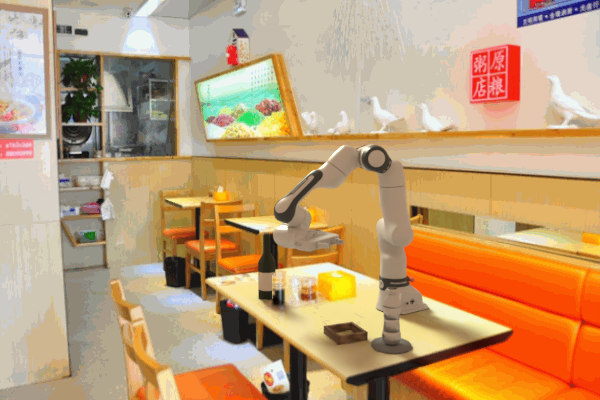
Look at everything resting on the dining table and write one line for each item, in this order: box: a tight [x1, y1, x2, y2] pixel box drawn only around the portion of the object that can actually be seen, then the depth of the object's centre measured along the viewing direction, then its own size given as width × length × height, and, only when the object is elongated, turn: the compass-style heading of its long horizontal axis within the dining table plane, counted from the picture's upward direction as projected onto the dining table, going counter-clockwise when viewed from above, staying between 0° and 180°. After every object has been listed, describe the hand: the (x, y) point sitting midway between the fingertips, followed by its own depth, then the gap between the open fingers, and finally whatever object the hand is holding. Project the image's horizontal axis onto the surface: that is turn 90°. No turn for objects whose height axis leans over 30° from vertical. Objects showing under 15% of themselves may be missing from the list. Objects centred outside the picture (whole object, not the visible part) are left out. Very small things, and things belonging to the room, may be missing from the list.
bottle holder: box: [323, 321, 369, 346], centre depth 198 cm, size 12×12×3 cm
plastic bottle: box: [381, 287, 402, 345], centre depth 188 cm, size 6×7×20 cm
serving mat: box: [370, 336, 413, 355], centre depth 189 cm, size 14×14×1 cm
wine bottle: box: [257, 232, 276, 301], centre depth 245 cm, size 8×8×30 cm
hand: (336, 244), depth 207 cm, fingers open, 8 cm apart
